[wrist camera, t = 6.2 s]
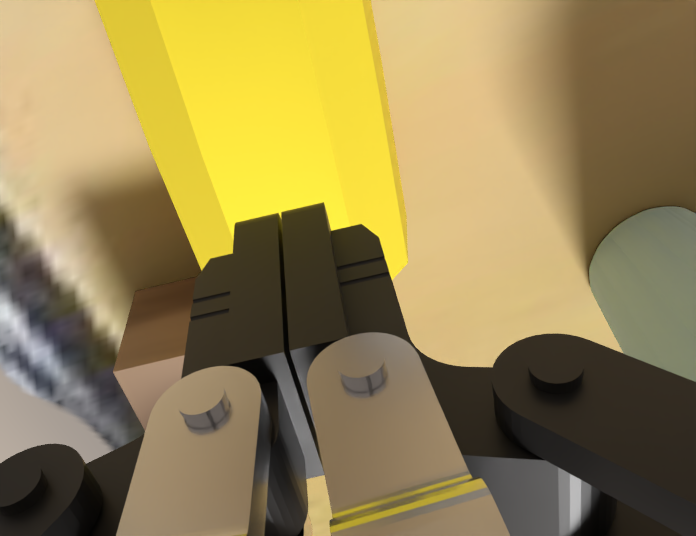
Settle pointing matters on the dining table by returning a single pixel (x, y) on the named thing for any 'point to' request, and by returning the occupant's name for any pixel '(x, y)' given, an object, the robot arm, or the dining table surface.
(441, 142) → the dining table surface
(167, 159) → the yellow banana
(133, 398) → the walnut numbered block
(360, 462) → the robot arm
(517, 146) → the dining table surface
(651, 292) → the cup
